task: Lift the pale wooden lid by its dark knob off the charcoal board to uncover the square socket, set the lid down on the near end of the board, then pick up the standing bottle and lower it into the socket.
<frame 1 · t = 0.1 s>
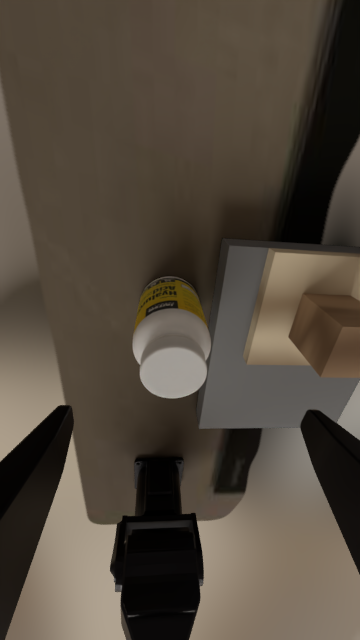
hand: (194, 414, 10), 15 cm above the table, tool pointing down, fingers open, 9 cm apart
board: (282, 342, 27), on the table
supplement bottle: (168, 301, 24), on the table
lid: (310, 310, 22), point 2 cm above the table, touching board
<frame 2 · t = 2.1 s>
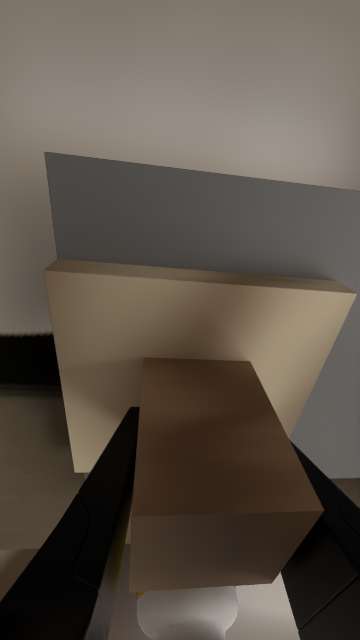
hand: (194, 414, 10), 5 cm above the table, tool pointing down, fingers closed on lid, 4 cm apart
board: (273, 350, 14), on the table
supplement bottle: (178, 473, 20), on the table
lid: (188, 378, 12), point 2 cm above the table, touching board, gripper
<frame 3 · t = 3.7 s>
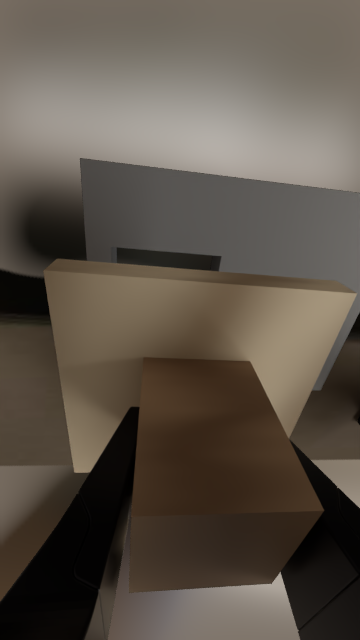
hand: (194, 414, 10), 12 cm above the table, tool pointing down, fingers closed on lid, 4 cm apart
board: (224, 292, 21), on the table
lid: (188, 378, 12), point 10 cm above the table, touching gripper
when the fingers open (6 cm above the table, at t = 5.5 s): lid drops 1 cm, resting on board.
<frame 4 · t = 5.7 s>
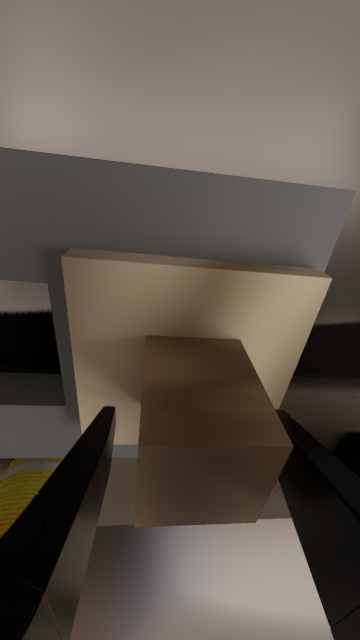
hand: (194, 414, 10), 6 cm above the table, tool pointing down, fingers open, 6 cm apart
board: (101, 327, 14), on the table
supplement bottle: (55, 456, 20), on the table
lid: (185, 357, 13), point 2 cm above the table, touching board
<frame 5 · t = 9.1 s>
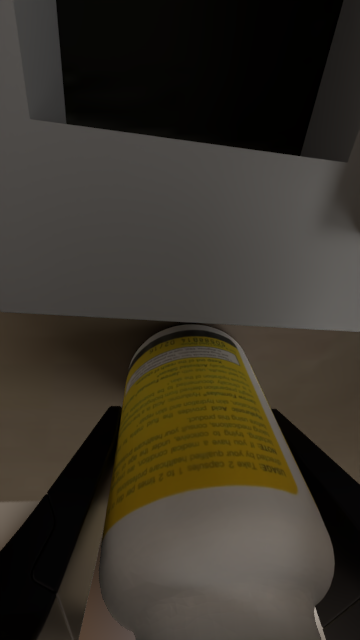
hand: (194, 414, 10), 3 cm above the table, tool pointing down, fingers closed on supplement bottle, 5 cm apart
supplement bottle: (187, 368, 12), on the table, touching gripper
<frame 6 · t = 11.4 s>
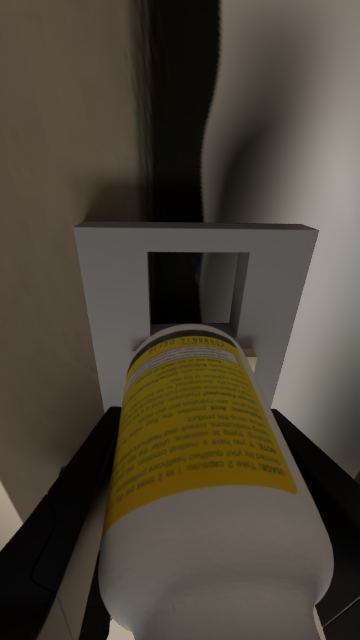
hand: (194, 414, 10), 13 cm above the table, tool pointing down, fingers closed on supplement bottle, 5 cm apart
board: (189, 337, 24), on the table
supplement bottle: (186, 367, 12), point 10 cm above the table, touching gripper
when the fingers open (3 cm above the table, at t = 13.8 s): supplement bottle stays where it is, resting in board.
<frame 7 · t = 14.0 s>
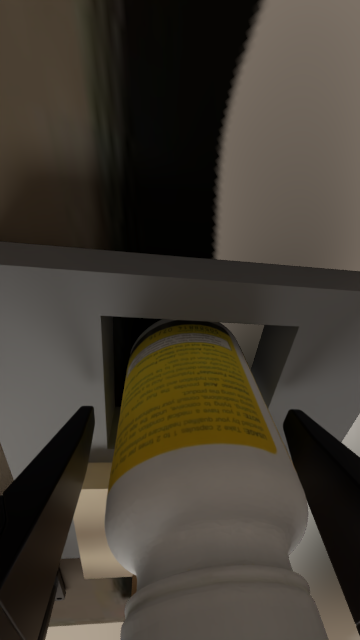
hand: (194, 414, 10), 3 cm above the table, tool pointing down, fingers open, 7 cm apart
board: (176, 425, 15), on the table
supplement bottle: (184, 356, 13), resting in board
lid: (171, 513, 15), point 2 cm above the table, touching board
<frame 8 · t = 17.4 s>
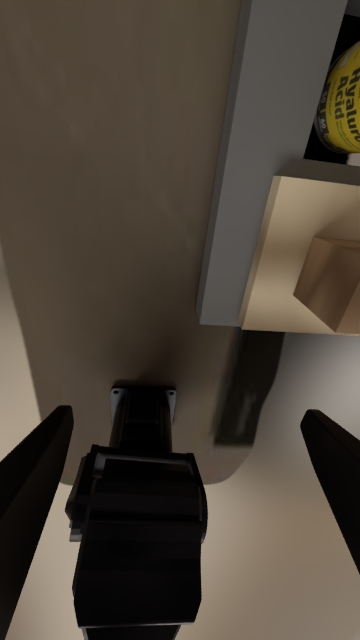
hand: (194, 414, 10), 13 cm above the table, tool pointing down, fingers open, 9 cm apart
board: (324, 191, 18), on the table
supplement bottle: (350, 104, 16), resting in board
lid: (320, 264, 18), point 2 cm above the table, touching board
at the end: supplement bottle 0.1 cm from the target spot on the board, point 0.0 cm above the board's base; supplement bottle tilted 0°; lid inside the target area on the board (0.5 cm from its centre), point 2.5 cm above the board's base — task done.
